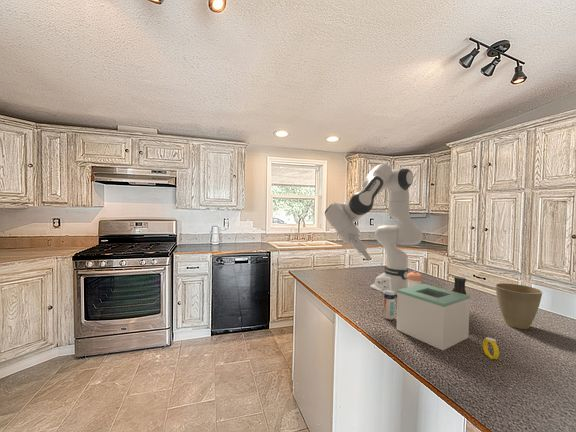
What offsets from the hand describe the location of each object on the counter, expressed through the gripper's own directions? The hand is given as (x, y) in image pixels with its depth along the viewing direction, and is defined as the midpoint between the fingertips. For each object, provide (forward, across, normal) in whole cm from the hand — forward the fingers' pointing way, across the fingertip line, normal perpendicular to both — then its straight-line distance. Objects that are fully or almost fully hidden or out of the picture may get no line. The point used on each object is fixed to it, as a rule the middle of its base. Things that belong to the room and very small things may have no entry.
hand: (369, 259), depth 117 cm
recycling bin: (+35, -8, -2) cm, 36 cm away
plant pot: (+57, +10, -32) cm, 66 cm away
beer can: (+26, +4, +9) cm, 27 cm away
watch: (+46, -20, -12) cm, 51 cm away
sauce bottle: (+43, +4, -13) cm, 45 cm away
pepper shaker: (+32, +15, -2) cm, 36 cm away
